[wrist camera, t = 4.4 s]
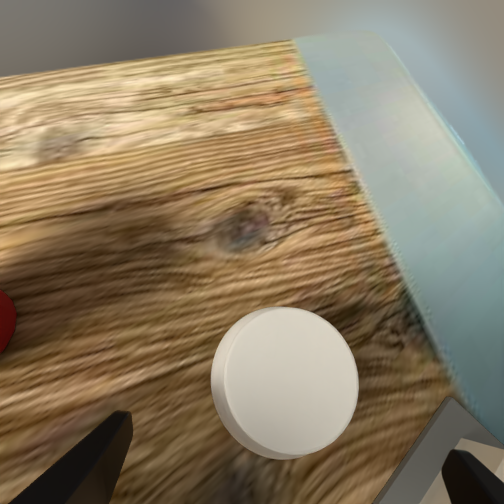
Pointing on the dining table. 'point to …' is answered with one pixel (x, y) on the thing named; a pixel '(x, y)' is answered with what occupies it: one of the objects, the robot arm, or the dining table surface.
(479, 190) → the dining table surface
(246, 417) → the supplement bottle
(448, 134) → the dining table surface
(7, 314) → the plastic cup
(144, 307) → the dining table surface
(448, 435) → the mat
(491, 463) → the dish
